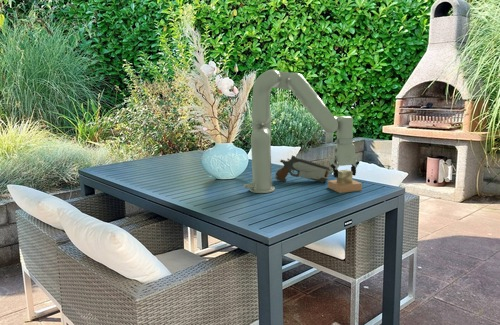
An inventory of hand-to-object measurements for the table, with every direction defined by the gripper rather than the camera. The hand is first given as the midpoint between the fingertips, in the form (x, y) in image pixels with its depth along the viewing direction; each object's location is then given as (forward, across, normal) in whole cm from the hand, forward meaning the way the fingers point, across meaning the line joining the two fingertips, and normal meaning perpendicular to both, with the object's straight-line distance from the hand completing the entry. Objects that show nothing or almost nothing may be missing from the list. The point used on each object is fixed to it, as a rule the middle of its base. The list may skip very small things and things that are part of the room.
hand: (344, 176), depth 211 cm
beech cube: (+3, 0, 0) cm, 3 cm away
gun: (+7, -12, +24) cm, 28 cm away
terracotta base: (+7, 0, 0) cm, 7 cm away
